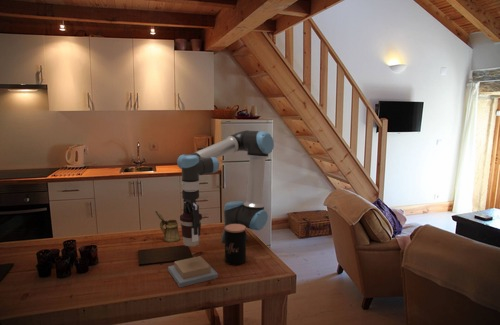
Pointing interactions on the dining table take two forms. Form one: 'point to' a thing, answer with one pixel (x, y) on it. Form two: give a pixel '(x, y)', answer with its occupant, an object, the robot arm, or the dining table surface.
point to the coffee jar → (235, 244)
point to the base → (191, 280)
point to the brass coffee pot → (169, 229)
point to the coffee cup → (189, 229)
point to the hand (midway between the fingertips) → (191, 237)
